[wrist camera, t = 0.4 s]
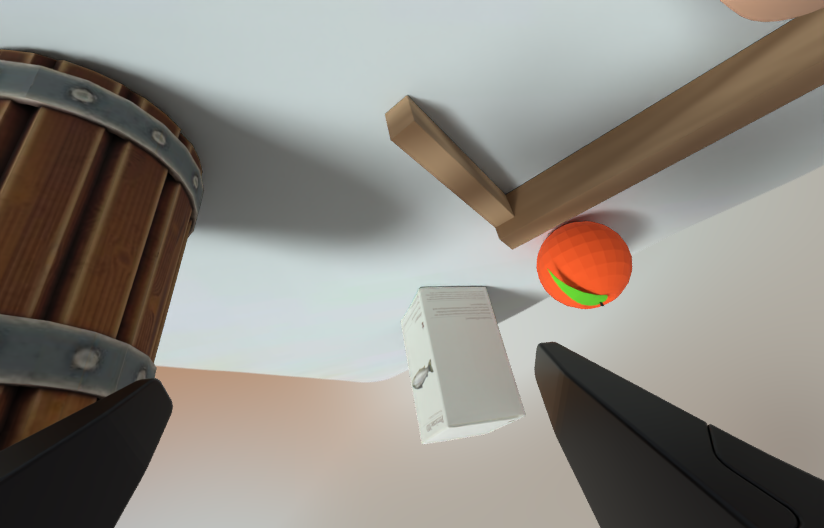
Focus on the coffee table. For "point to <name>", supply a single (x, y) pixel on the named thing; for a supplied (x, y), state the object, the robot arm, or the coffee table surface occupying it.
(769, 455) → the robot arm
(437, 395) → the supplement box
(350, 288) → the coffee table surface
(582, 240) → the clementine
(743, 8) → the tan cylinder
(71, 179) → the mug
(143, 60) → the coffee table surface
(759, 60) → the bay
